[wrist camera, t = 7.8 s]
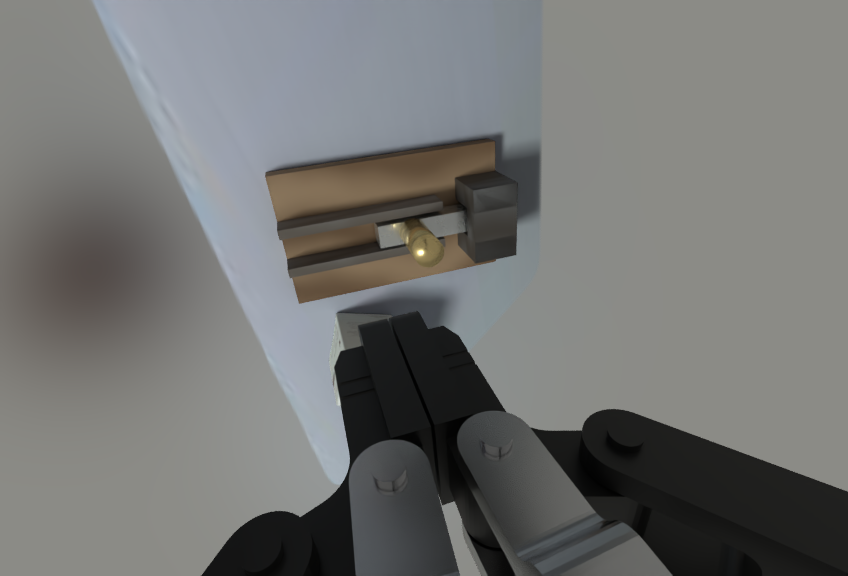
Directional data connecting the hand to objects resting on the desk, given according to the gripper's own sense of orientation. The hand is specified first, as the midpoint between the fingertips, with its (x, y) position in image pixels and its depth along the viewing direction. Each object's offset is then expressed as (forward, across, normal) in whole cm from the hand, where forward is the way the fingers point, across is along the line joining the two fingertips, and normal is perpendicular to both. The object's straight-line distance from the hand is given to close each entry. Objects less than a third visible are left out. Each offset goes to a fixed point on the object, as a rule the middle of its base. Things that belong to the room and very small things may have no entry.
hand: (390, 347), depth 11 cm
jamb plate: (+30, -6, +8) cm, 31 cm away
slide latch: (+28, -9, +8) cm, 30 cm away
